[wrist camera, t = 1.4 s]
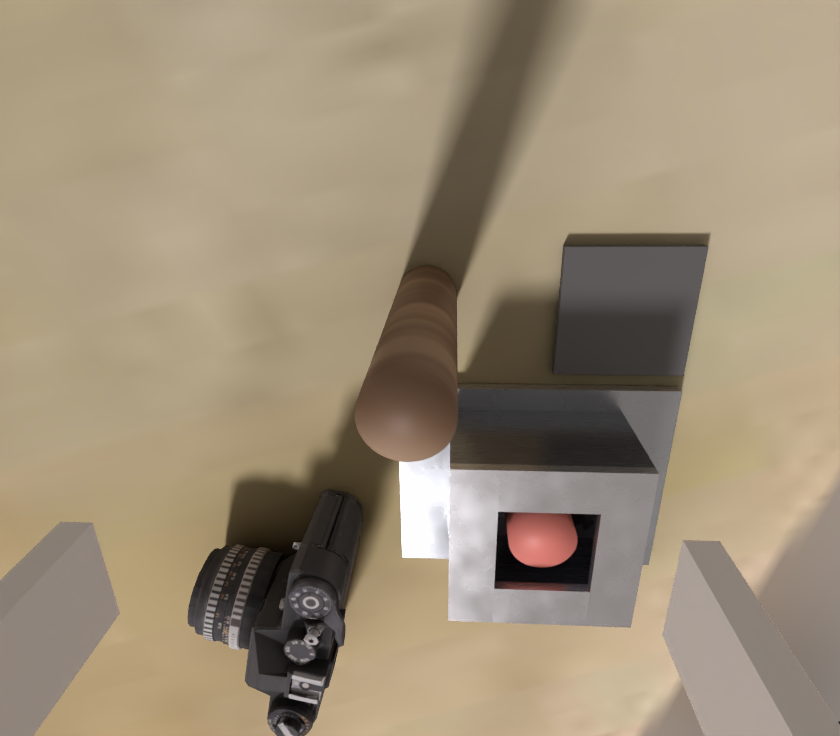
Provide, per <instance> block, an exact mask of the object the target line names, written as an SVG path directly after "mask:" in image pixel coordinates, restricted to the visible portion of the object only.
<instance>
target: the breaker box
mask: <svg viewBox="0 0 840 736" xmlns="http://www.w3.org/2000/svg"><path fill="white" fill-rule="evenodd" d="M457 386H458V422H457V428H456V431H455V434H454V436H453V438H452V440H451V441H450V443H449V444H448V445H447V446H446V447H445V448H444V449H443V450H442V451H441V452H439V453H438V454H436V455H434V456H433V457H430V458H428V459H425V460H421V461H416V462H400V461H399V470H400V500H401V530H402V557H409V558H440V559H449V601H448V621H471V622H497V623H523V624H550V625H576V626H602V627H628V628H631V623H632V618H633V612H634V607H635V601H636V596H637V591H638V585H639V580H640V575H641V569H642V565H649V560H650V555H651V550H652V545H653V539H654V534H655V529H656V524H657V519H658V513H659V508H660V503H661V498H662V493H663V488H664V482H665V477H666V472H667V467H668V462H669V457H670V451H671V446H672V441H673V436H674V431H675V425H676V420H677V415H678V410H679V405H680V400H681V394H682V391H681V390H680V389H679V388H678V386H625V385H544V384H463V383H457ZM505 512H525V513H564V514H571V517H572V520H573V523H574V526H575V530H576V533H577V538H578V541H577V546H576V549H575V551H574V552H573V554H572V555H571V556H570V557H569V558H568V559H567V560H565V561H564V562H562V563H560V564H558V565H555V566H552V567H545V568H539V567H532V566H529V565H526V564H524V563H522V562H520V561H519V560H518V559H516V558H515V557H514V555H513V554H512V552H511V550H510V548H509V543H508V535H507V527H506V520H505Z"/></svg>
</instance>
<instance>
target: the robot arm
mask: <svg viewBox="0 0 840 736" xmlns="http://www.w3.org/2000/svg"><path fill="white" fill-rule="evenodd" d="M119 614H120V612H119V609H118V605H117V602H116V599H115V596H114V592H113V589H112V586H111V582H110V579H109V576H108V572H107V569H106V566H105V562H104V559H103V556H102V552H101V549H100V546H99V542H98V539H97V536H96V532H95V529H94V526H93V523H83V522H60V523H59V524H58V525H57V526H56V527H55V528H54V529H53V530H52V531H51V532H49V533H48V534H47V535H46V536H45V537H44V538H43V539H42V540H41V541H40V542H39V543H38V544H37V545H36V546H35V547H34V548H33V549H32V550H31V551H30V552H29V553H28V554H27V555H26V556H25V557H24V558H23V559H22V560H21V561H20V562H19V563H18V564H17V565H16V566H15V567H13V568H12V569H11V570H10V571H9V572H8V573H7V574H6V575H5V576H4V577H3V578H2V579H1V580H0V736H33V735H34V734H35V733H36V731H37V730H38V728H39V727H40V725H41V724H42V723H43V721H44V720H45V718H46V717H47V716H48V714H49V713H50V711H51V710H52V708H53V707H54V706H55V704H56V703H57V701H58V700H59V699H60V697H61V696H62V694H63V693H64V691H65V690H66V689H67V687H68V686H69V684H70V683H71V682H72V680H73V679H74V677H75V676H76V674H77V673H78V672H79V670H80V669H81V667H82V666H83V665H84V663H85V662H86V660H87V659H88V657H89V656H90V655H91V653H92V652H93V650H94V649H95V648H96V646H97V645H98V643H99V642H100V640H101V639H102V638H103V636H104V635H105V633H106V632H107V631H108V629H109V628H110V626H111V625H112V623H113V622H114V621H115V619H116V618H117V616H118V615H119ZM662 635H663V637H664V640H665V642H666V644H667V647H668V649H669V652H670V654H671V657H672V659H673V661H674V664H675V666H676V669H677V671H678V673H679V676H680V678H681V681H682V683H683V685H684V688H685V690H686V692H687V695H688V697H689V700H690V702H691V704H692V707H693V709H694V712H695V714H696V717H697V719H698V721H699V724H700V726H701V729H702V731H703V733H704V736H840V722H838V721H837V720H836V718H835V717H834V715H833V714H832V712H831V711H830V709H829V708H828V706H827V705H826V703H825V701H824V700H823V698H822V697H821V696H820V694H819V692H818V691H817V689H816V688H815V686H814V685H813V683H812V682H811V680H810V678H809V677H808V675H807V674H806V673H805V671H804V669H803V668H802V666H801V665H800V663H799V662H798V660H797V659H796V657H795V656H794V654H793V652H792V651H791V650H790V648H789V647H788V645H787V643H786V642H785V640H784V639H783V637H782V636H781V634H780V633H779V631H778V630H777V628H776V626H775V625H774V623H773V622H772V620H771V619H770V617H769V616H768V614H767V613H766V611H765V610H764V608H763V607H762V605H761V604H760V602H759V600H758V599H757V597H756V596H755V594H754V593H753V591H752V590H751V588H750V587H749V585H748V584H747V582H746V581H745V579H744V578H743V576H742V574H741V573H740V571H739V570H738V568H737V567H736V565H735V564H734V562H733V561H732V559H731V558H730V556H729V555H728V553H727V552H726V550H725V548H724V547H723V545H722V544H721V542H720V541H691V540H683V542H682V547H681V551H680V556H679V561H678V565H677V570H676V575H675V579H674V584H673V588H672V593H671V598H670V602H669V607H668V611H667V616H666V621H665V625H664V630H663V634H662Z"/></svg>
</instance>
